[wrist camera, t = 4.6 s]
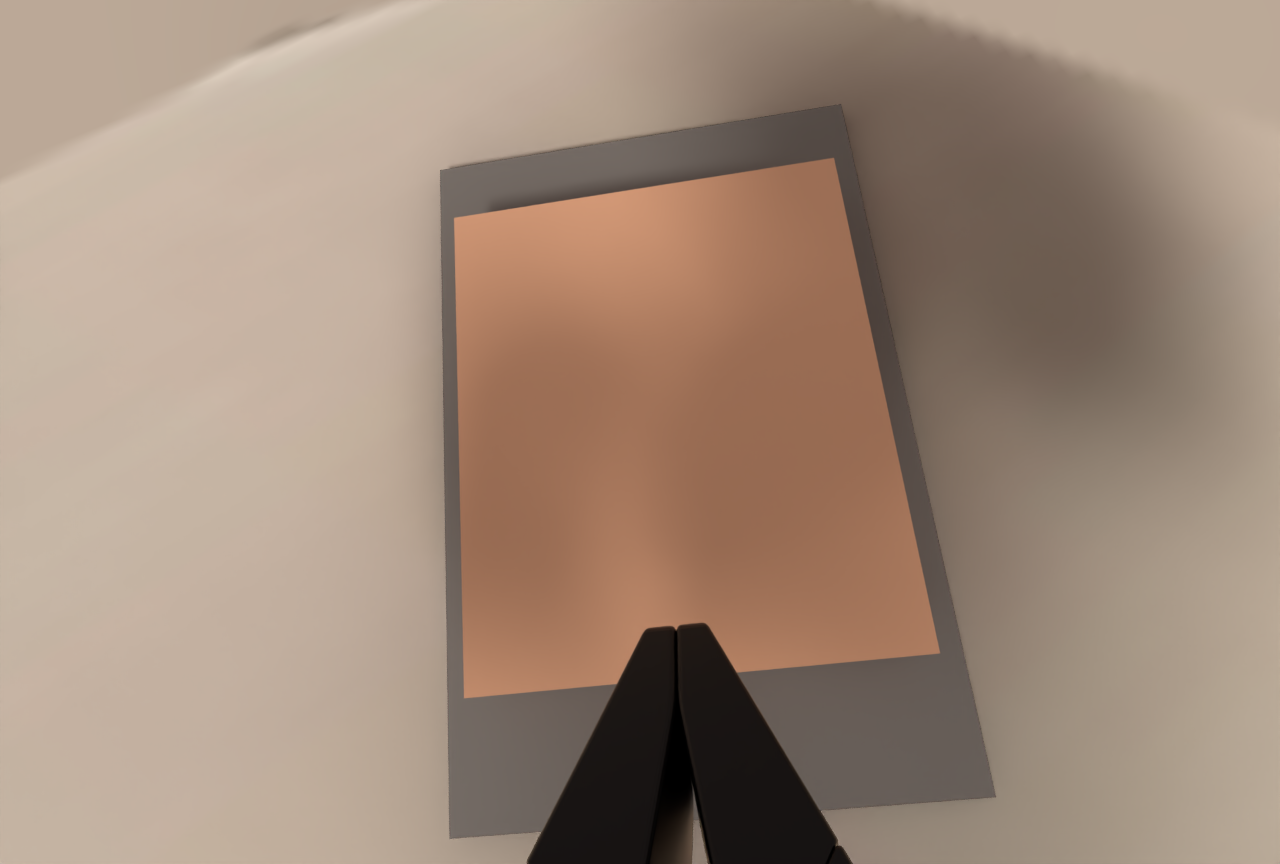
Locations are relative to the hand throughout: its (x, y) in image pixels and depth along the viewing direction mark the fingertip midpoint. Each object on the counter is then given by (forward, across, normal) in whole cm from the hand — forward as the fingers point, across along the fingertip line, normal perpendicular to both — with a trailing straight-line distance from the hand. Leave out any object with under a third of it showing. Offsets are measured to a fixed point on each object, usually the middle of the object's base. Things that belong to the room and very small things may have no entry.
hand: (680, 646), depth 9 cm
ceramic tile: (+8, 0, +1) cm, 8 cm away
